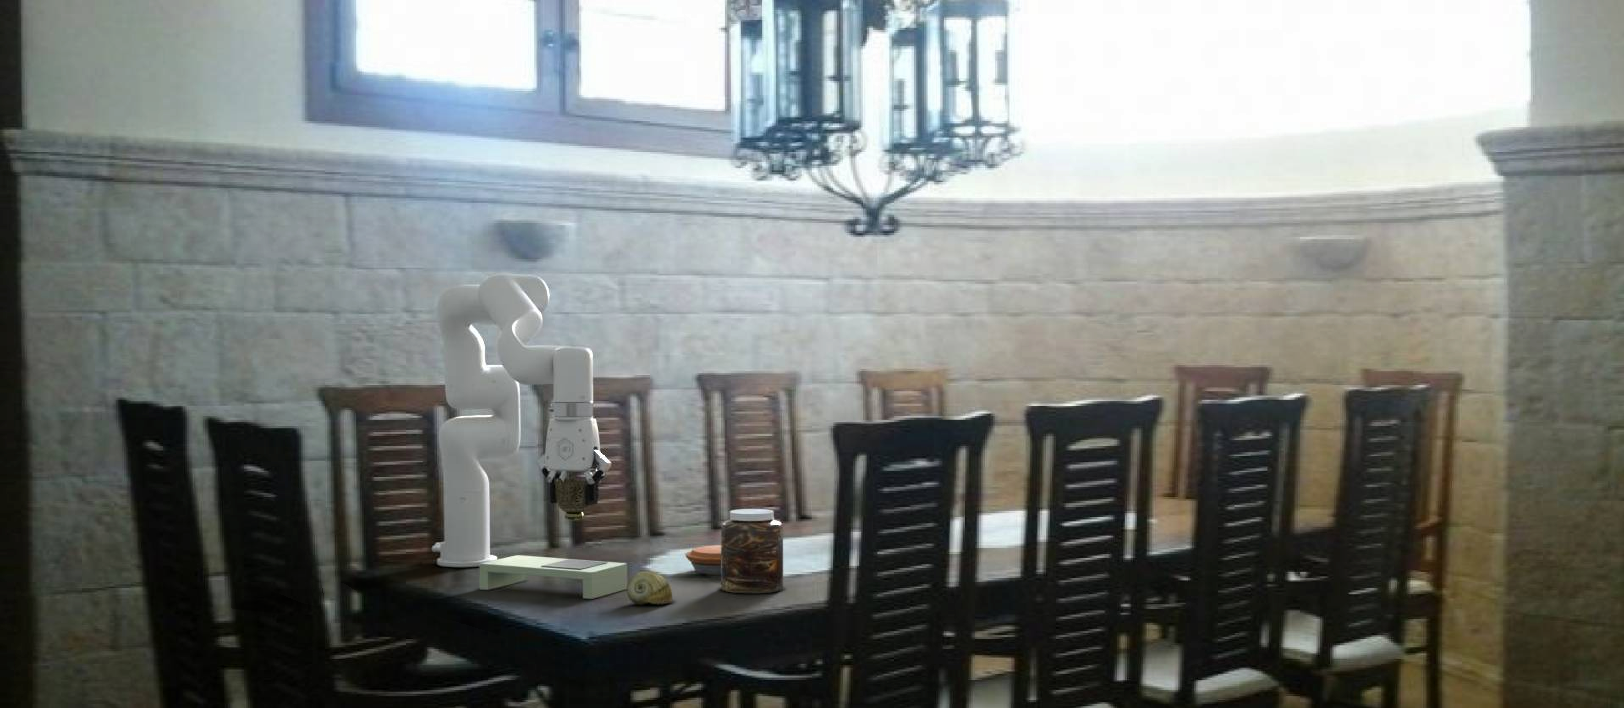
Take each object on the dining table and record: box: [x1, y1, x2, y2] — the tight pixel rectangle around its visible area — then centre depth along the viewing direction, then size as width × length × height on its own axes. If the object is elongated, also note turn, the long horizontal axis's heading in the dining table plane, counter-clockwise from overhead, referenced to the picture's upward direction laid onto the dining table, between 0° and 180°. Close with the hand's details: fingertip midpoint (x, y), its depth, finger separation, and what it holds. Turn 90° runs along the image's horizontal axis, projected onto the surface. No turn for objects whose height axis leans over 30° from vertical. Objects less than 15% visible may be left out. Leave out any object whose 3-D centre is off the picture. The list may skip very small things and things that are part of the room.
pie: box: [684, 544, 721, 576], centre depth 314 cm, size 15×16×5 cm
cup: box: [554, 476, 591, 522], centre depth 291 cm, size 8×7×8 cm
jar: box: [720, 508, 784, 595], centre depth 292 cm, size 12×12×15 cm
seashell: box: [626, 570, 673, 606], centre depth 277 cm, size 10×7×8 cm
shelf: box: [478, 554, 628, 600], centre depth 293 cm, size 26×12×5 cm, turn 64°
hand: (574, 503), depth 291 cm, fingers closed on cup, 7 cm apart
